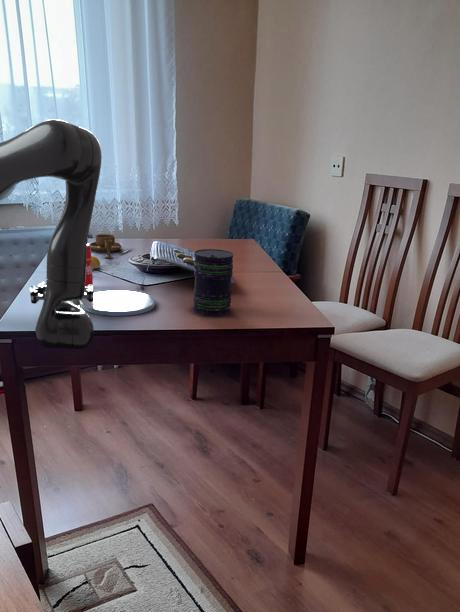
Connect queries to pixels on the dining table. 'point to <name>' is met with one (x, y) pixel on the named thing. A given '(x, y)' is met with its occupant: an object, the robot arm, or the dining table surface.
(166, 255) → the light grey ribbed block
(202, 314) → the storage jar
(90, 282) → the beverage can
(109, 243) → the place setting
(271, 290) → the dining table surface
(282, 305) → the dining table surface
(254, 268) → the dining table surface
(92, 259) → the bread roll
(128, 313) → the plate
